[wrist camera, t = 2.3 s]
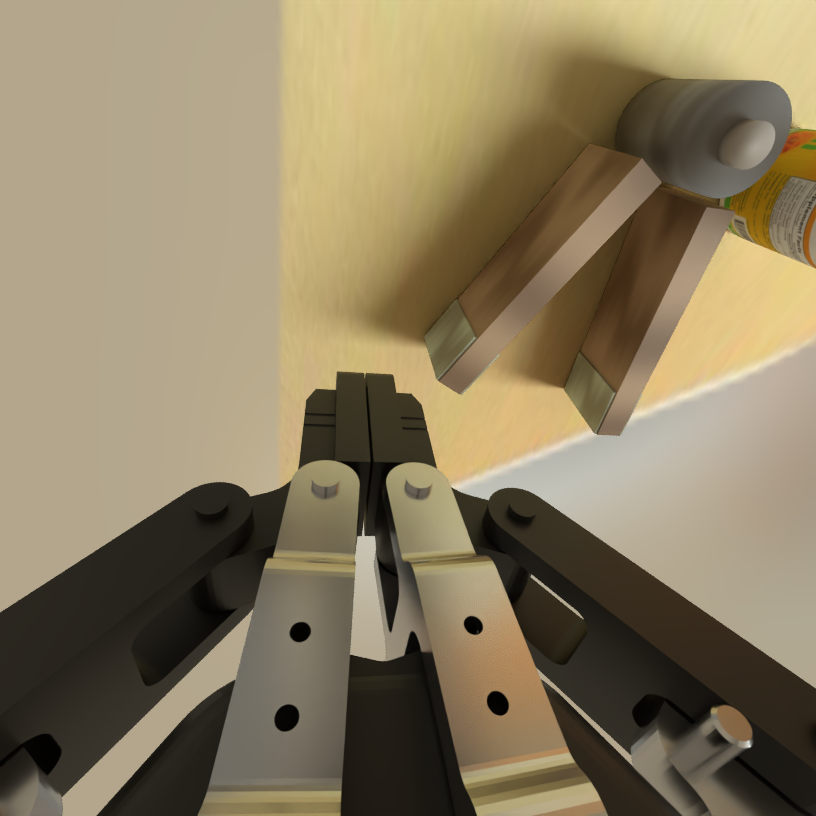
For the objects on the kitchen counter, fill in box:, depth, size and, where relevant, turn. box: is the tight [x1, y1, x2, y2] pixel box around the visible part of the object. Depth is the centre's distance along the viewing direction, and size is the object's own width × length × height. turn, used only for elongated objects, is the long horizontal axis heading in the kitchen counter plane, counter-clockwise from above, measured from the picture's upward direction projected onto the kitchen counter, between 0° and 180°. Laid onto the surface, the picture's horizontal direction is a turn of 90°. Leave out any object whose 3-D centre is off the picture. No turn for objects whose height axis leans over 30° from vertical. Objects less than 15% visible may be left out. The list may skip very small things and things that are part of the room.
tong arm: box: [424, 143, 662, 395], centre depth 24 cm, size 13×2×5 cm, turn 142°
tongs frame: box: [564, 79, 792, 436], centre depth 24 cm, size 18×4×7 cm, turn 172°
